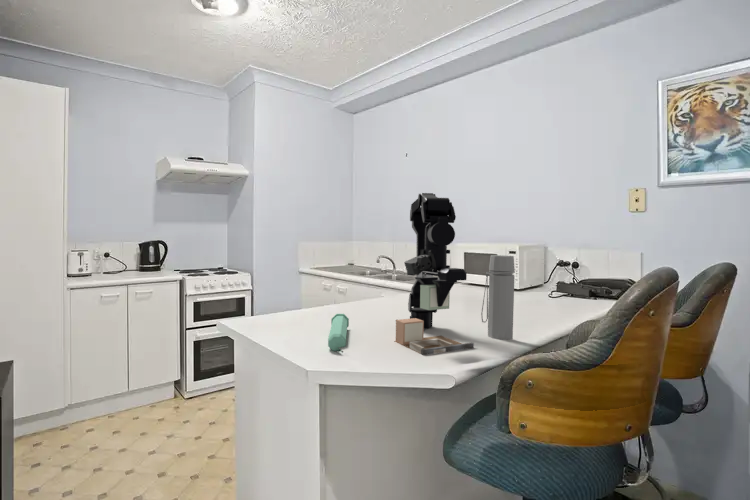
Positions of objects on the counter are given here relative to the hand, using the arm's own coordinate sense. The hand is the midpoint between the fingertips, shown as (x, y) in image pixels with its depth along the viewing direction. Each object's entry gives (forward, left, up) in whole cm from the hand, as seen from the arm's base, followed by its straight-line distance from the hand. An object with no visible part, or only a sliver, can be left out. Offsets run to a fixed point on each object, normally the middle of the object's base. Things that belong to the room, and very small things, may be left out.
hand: (434, 305), depth 110 cm
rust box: (+3, -7, -11) cm, 14 cm away
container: (+18, -22, -13) cm, 31 cm away
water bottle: (-25, -3, -13) cm, 28 cm away
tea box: (0, 0, -1) cm, 1 cm away
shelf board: (-2, -3, -12) cm, 13 cm away
